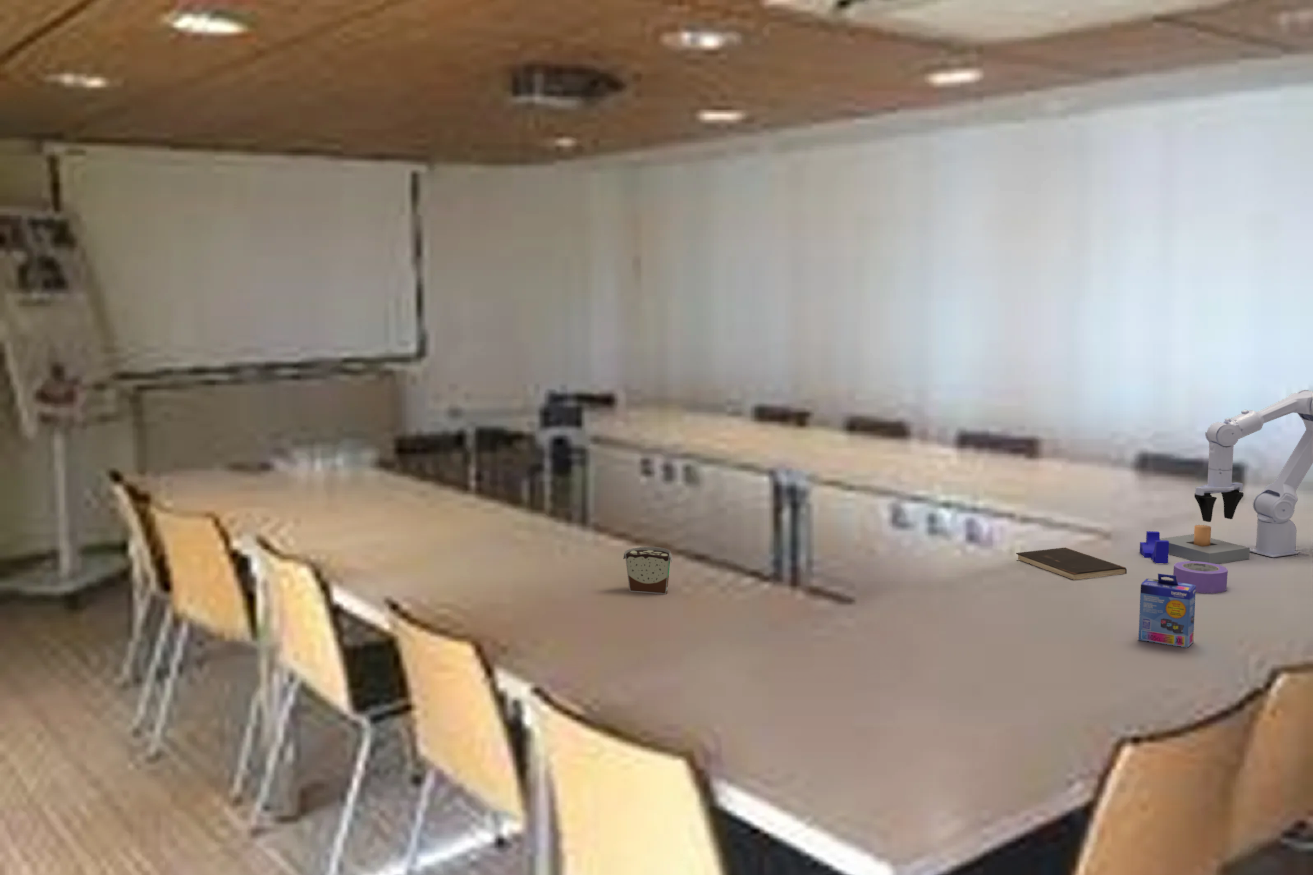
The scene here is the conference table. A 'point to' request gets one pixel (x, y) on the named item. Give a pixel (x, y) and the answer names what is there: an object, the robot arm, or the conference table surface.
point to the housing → (1206, 550)
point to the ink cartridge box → (1167, 611)
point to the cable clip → (1155, 547)
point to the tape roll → (1202, 576)
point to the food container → (648, 569)
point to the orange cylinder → (1202, 535)
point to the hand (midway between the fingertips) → (1217, 519)
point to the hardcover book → (1071, 563)
